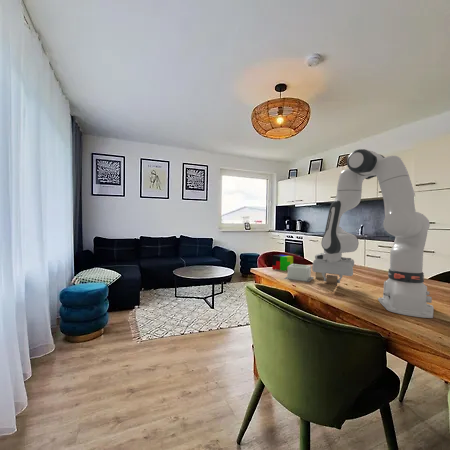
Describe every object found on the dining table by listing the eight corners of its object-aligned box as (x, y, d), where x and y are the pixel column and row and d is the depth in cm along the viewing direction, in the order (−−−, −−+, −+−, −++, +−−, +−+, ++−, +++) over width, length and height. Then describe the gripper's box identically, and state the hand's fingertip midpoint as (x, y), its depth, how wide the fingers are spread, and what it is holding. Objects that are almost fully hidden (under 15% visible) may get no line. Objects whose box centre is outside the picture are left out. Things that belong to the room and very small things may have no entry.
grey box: (306, 281, 139) (307, 268, 139) (287, 278, 144) (287, 266, 144) (310, 277, 148) (310, 265, 148) (292, 275, 154) (292, 263, 154)
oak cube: (324, 281, 143) (324, 273, 143) (315, 280, 145) (315, 272, 145) (325, 280, 147) (326, 271, 147) (316, 279, 150) (317, 270, 150)
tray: (309, 283, 137) (309, 282, 137) (283, 280, 144) (283, 278, 144) (313, 278, 149) (313, 277, 149) (290, 276, 156) (290, 274, 156)
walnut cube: (336, 286, 132) (336, 277, 132) (326, 285, 134) (326, 276, 134) (337, 284, 136) (337, 275, 136) (327, 283, 138) (327, 274, 138)
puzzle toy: (281, 268, 182) (281, 254, 182) (292, 270, 174) (293, 256, 174) (272, 269, 176) (272, 255, 175) (284, 272, 168) (284, 257, 168)
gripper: (354, 257, 132) (353, 283, 133) (314, 254, 142) (313, 278, 143) (354, 259, 127) (353, 286, 127) (312, 255, 137) (311, 280, 137)
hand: (331, 282), depth 135 cm, fingers closed on walnut cube, 5 cm apart
